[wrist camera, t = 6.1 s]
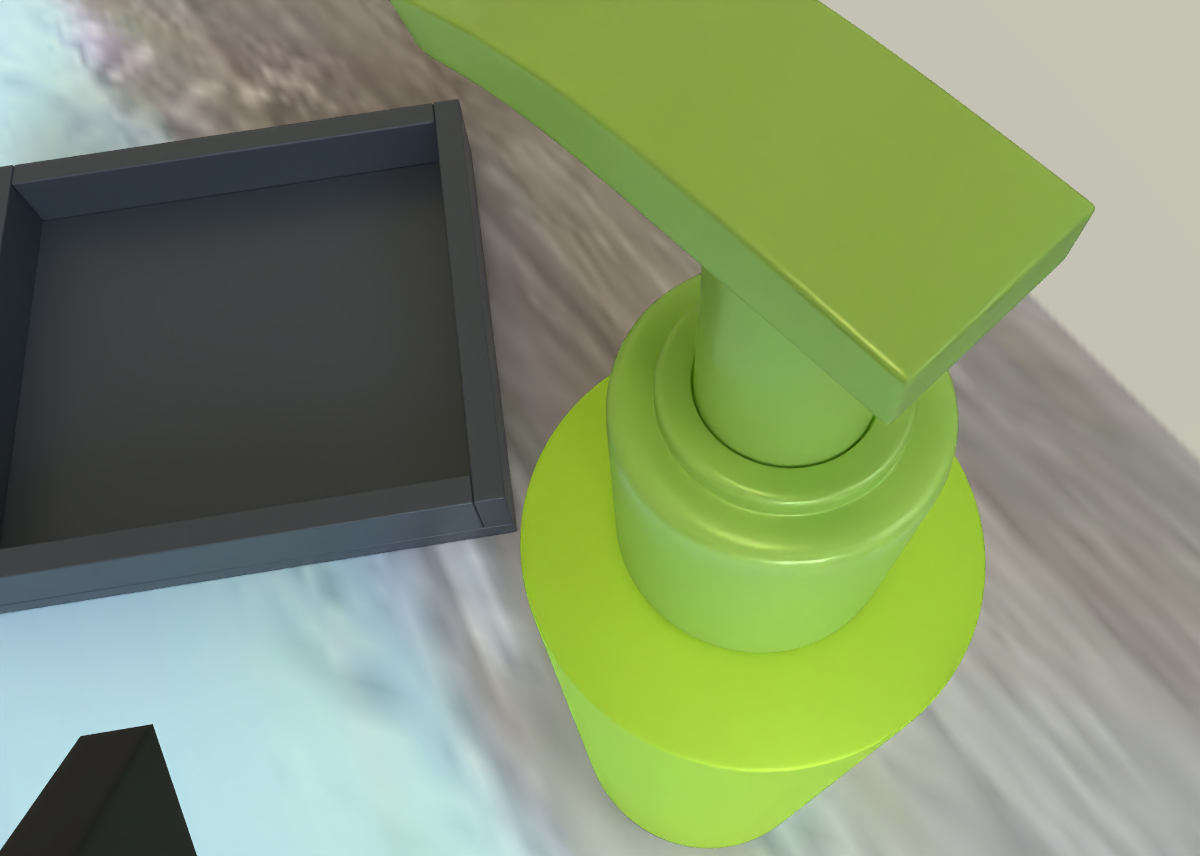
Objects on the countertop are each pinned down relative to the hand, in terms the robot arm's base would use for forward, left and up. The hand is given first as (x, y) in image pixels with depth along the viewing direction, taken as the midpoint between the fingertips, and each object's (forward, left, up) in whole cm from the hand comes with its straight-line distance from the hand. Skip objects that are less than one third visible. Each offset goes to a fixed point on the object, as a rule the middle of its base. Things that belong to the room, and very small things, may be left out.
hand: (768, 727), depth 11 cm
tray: (+11, -15, -14) cm, 23 cm away
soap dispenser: (0, -3, -14) cm, 14 cm away
